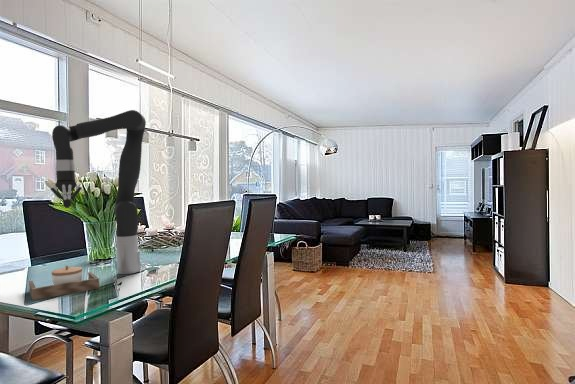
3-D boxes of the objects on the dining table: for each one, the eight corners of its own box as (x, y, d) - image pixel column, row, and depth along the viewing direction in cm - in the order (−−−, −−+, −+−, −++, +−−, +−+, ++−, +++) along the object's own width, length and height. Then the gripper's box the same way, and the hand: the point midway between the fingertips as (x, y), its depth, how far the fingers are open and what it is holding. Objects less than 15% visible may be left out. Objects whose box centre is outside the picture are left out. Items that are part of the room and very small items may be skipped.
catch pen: (91, 281, 171) (91, 271, 171) (99, 288, 159) (98, 278, 159) (29, 291, 158) (28, 281, 157) (32, 300, 145) (32, 289, 145)
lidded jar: (56, 287, 163) (55, 264, 163) (85, 284, 166) (84, 261, 166) (48, 294, 153) (47, 269, 152) (79, 291, 156) (78, 267, 155)
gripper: (49, 169, 175) (51, 209, 176) (82, 169, 183) (84, 207, 184) (47, 170, 181) (49, 208, 182) (79, 170, 189) (81, 206, 190)
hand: (67, 207), depth 183 cm, fingers closed
